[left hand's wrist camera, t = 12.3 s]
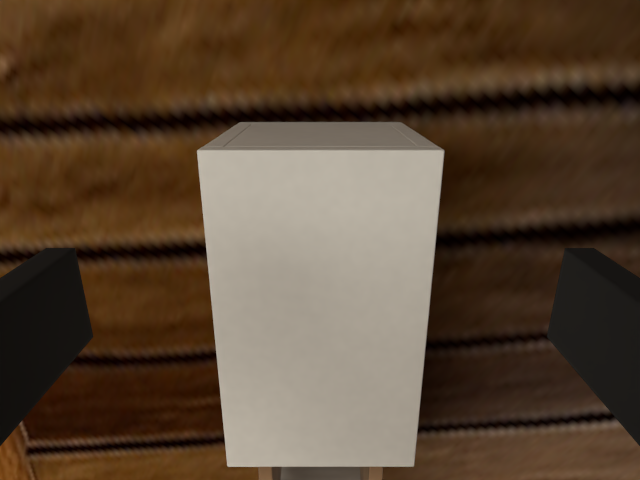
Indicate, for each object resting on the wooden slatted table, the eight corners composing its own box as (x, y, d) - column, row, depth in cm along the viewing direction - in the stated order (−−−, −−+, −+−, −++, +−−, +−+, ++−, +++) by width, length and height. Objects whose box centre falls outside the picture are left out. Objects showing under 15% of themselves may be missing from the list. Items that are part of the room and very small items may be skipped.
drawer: (372, 506, 38) (386, 620, 30) (268, 506, 38) (254, 620, 30) (385, 283, 30) (407, 357, 23) (255, 284, 30) (233, 357, 23)
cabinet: (387, 353, 33) (414, 467, 24) (253, 353, 33) (227, 467, 24) (401, 121, 28) (445, 149, 18) (239, 121, 28) (196, 150, 18)
